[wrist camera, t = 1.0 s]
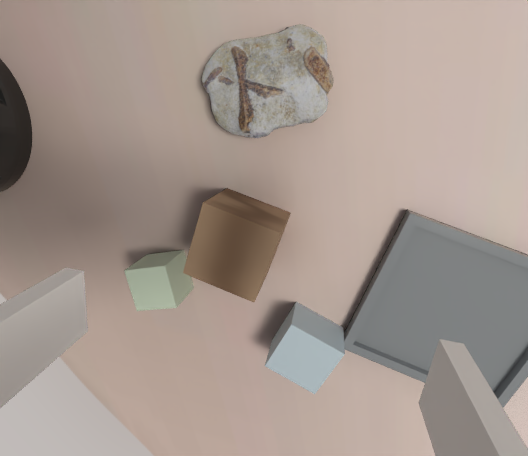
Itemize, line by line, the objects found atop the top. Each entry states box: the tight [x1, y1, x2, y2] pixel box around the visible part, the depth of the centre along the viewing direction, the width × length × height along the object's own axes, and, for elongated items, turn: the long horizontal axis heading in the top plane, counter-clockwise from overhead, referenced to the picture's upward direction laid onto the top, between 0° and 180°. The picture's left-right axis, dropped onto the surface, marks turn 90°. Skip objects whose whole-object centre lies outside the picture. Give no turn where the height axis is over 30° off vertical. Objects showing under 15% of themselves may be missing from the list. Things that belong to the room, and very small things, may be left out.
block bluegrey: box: [265, 302, 345, 394], centre depth 31 cm, size 5×5×4 cm
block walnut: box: [183, 188, 291, 302], centre depth 28 cm, size 6×6×6 cm
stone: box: [202, 25, 333, 138], centre depth 25 cm, size 10×7×3 cm
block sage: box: [124, 250, 194, 311], centre depth 32 cm, size 4×4×4 cm
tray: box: [344, 210, 528, 407], centre depth 29 cm, size 15×14×1 cm
